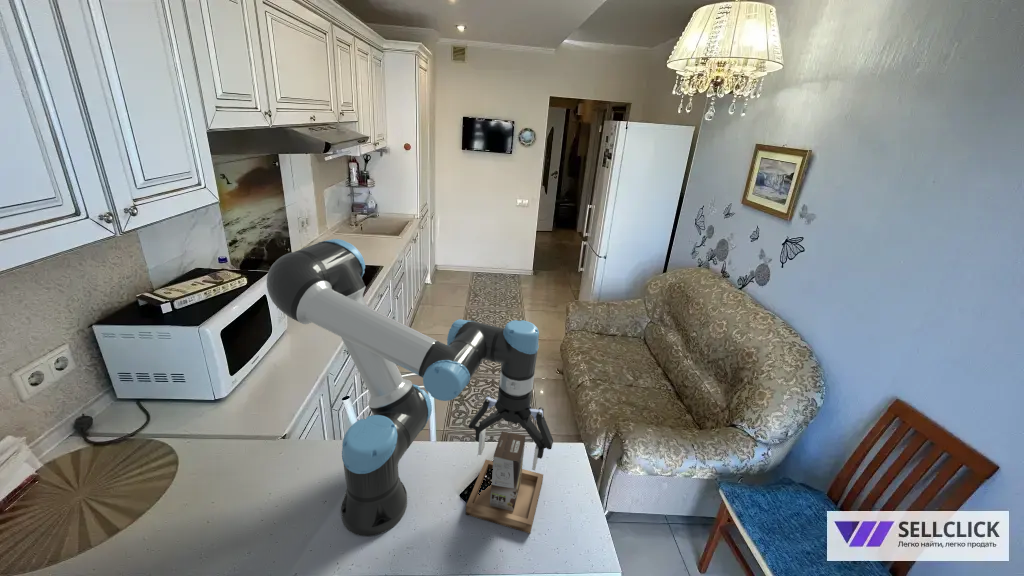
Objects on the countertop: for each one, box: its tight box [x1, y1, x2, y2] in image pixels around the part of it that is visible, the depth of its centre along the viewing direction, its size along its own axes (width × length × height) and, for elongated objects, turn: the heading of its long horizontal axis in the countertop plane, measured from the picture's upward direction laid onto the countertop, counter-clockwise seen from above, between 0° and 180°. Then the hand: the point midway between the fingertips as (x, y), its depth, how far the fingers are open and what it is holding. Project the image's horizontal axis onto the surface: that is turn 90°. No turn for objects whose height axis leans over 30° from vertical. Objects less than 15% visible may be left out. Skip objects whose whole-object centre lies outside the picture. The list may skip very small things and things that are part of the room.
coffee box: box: [490, 431, 526, 511], centre depth 101 cm, size 9×6×16 cm
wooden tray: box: [465, 459, 544, 534], centre depth 103 cm, size 16×15×3 cm
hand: (507, 458), depth 99 cm, fingers open, 13 cm apart
